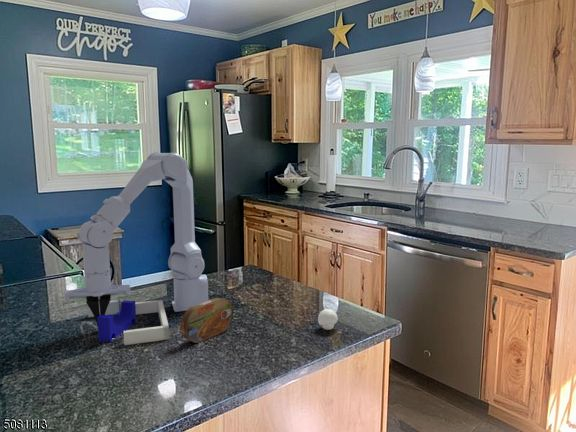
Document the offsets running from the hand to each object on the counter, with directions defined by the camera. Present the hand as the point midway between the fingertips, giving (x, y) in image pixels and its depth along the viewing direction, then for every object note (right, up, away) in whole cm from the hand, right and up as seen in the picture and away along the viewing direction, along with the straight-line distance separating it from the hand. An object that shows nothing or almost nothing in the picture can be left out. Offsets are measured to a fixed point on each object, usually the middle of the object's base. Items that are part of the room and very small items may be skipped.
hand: (100, 324), depth 107 cm
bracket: (+10, -1, +4) cm, 11 cm away
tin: (+27, -2, -2) cm, 27 cm away
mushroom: (+56, -2, +3) cm, 56 cm away
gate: (-3, 0, +11) cm, 11 cm away
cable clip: (+4, -2, +1) cm, 4 cm away
